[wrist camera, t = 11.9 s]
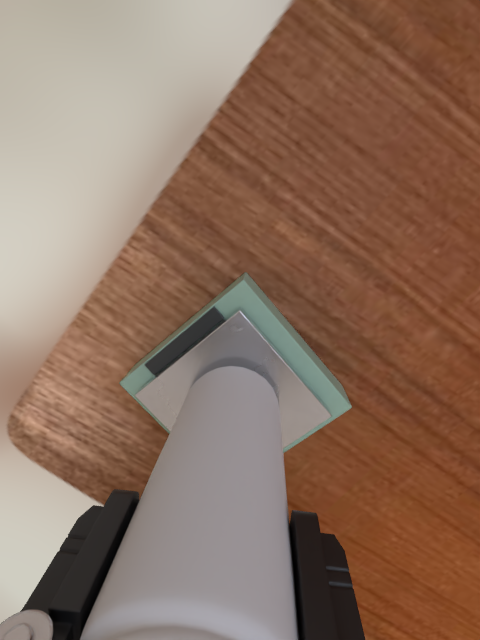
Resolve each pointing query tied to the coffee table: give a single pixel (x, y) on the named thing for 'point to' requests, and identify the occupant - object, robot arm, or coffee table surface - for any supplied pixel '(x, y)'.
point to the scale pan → (241, 351)
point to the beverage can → (208, 527)
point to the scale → (273, 327)
